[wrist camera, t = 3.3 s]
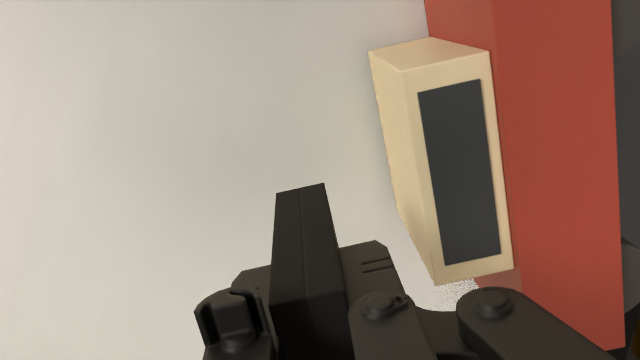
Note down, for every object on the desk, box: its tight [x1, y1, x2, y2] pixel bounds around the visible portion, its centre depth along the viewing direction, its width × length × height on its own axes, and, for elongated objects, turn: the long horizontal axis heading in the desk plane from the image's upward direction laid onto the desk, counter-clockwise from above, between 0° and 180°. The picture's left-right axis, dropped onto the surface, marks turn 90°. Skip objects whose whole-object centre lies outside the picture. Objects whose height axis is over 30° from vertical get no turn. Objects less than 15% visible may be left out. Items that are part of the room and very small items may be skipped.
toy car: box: [368, 0, 640, 351], centre depth 19 cm, size 13×7×8 cm, turn 12°
